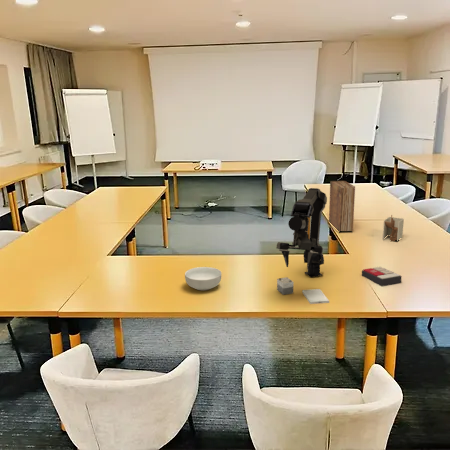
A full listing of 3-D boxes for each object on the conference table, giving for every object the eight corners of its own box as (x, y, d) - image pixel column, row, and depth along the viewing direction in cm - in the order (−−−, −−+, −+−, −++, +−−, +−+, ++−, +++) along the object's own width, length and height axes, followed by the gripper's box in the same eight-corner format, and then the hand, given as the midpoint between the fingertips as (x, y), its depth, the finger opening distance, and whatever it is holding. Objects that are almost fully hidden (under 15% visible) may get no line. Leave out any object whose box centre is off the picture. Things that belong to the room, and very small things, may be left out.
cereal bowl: (209, 297, 194) (209, 282, 192) (178, 290, 202) (177, 276, 200) (228, 283, 208) (228, 269, 206) (198, 278, 216) (197, 264, 214)
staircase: (382, 241, 269) (384, 214, 264) (387, 236, 277) (389, 210, 273) (397, 243, 264) (399, 215, 260) (402, 238, 272) (404, 212, 268)
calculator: (380, 265, 217) (402, 274, 203) (380, 274, 218) (401, 283, 204) (361, 268, 214) (382, 277, 200) (361, 277, 215) (381, 287, 201)
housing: (277, 290, 200) (277, 278, 198) (287, 288, 201) (287, 276, 200) (283, 295, 194) (283, 283, 193) (293, 293, 196) (293, 281, 195)
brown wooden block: (353, 232, 286) (355, 186, 278) (338, 233, 286) (340, 187, 278) (341, 222, 310) (343, 180, 303) (328, 223, 310) (330, 180, 302)
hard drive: (302, 289, 197) (310, 301, 185) (320, 288, 197) (329, 300, 185) (302, 293, 197) (310, 305, 185) (320, 292, 198) (329, 304, 186)
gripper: (285, 229, 179) (281, 268, 179) (329, 233, 182) (325, 271, 182) (277, 228, 190) (274, 265, 190) (319, 232, 193) (316, 268, 193)
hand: (297, 267), depth 189 cm, fingers open, 9 cm apart
